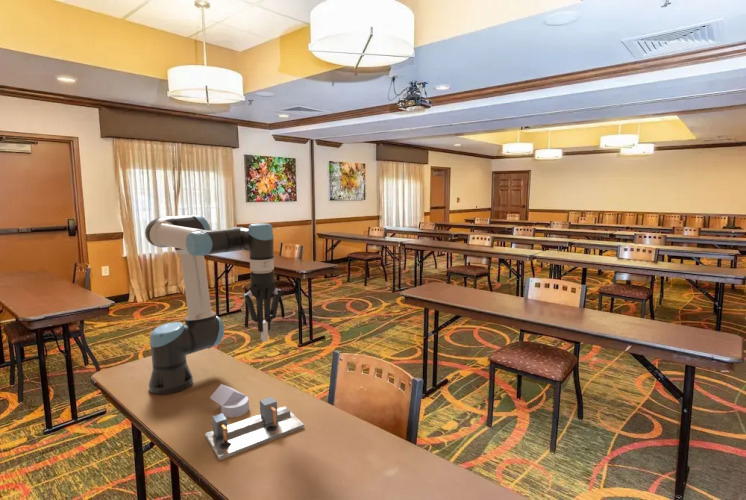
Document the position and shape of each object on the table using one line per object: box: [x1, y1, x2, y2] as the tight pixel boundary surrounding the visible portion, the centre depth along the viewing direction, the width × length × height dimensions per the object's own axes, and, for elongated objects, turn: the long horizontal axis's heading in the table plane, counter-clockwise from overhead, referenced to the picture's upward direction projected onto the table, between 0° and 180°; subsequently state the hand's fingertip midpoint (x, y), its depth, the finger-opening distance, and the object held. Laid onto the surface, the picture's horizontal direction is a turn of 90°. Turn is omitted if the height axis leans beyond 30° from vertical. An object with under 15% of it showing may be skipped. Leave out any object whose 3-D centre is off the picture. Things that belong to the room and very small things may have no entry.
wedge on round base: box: [209, 383, 250, 418], centre depth 141 cm, size 9×7×13 cm
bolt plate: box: [204, 405, 305, 461], centre depth 127 cm, size 14×26×8 cm, turn 127°
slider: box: [259, 396, 278, 426], centre depth 129 cm, size 7×4×6 cm, turn 37°
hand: (264, 340), depth 138 cm, fingers closed
